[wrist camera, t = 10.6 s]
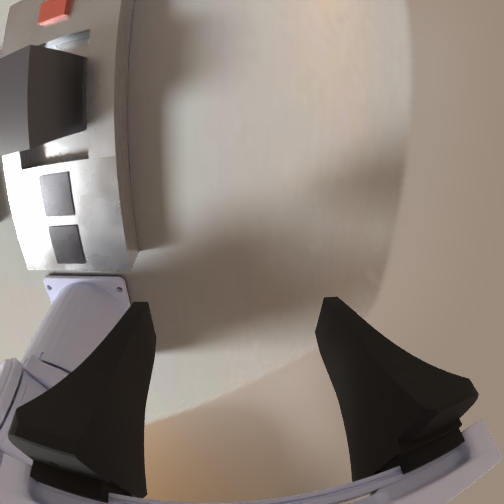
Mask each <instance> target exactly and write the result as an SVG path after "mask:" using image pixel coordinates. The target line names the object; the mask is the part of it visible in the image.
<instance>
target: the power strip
mask: <svg viewBox="0 0 504 504" xmlns="http://www.w3.org/2000/svg"><path fill="white" fill-rule="evenodd" d="M134 1H135V0H21V1H19V2H17V3H16V4H14V5H12V6H10V10H9V14H8V19H7V24H6V30H5V36H4V42H3V50H2V57H4V56H6V55H8V54H11V53H13V52H15V51H17V50H19V49H21V48H24V47H26V46H28V45H36V46H41V47H46V48H51V49H55V50H60V51H64V52H68V53H72V54H76V55H80V56H84V60H83V83H82V115H83V131H82V132H79V133H76V134H72V135H69V136H66V137H63V138H60V139H56V140H53V141H51V142H48V143H45V144H42V145H39V146H36V147H34V148H31V149H28V150H24V151H20V152H16V153H12V154H8V155H5V156H2V158H3V166H4V173H5V180H6V186H7V191H8V197H9V202H10V206H11V211H12V215H13V219H14V223H15V227H16V231H17V235H18V238H19V242H20V245H21V249H22V252H23V255H24V258H25V261H26V264H27V267H28V270H92V271H131V269H132V266H133V264H134V262H135V260H136V257H137V255H138V253H139V250H138V243H137V236H136V228H135V221H134V212H133V203H132V193H131V182H130V169H129V153H128V126H127V87H128V62H129V46H130V34H131V25H132V16H133V8H134Z"/></svg>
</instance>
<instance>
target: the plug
mask: <svg viewBox="0 0 504 504" xmlns="http://www.w3.org/2000/svg"><path fill="white" fill-rule="evenodd" d="M83 60H84V56H80V55H76V54H72V53H68V52H64V51H60V50H55V49H51V48H46V47H41V46H36V45H28V46H26V47H24V48H21V49H19V50H17V51H15V52H13V53H11V54H8V55H6V56H4V57H2V58H0V157H1V156H5V155H8V154H12V153H16V152H20V151H24V150H28V149H31V148H34V147H36V146H39V145H42V144H45V143H48V142H51V141H53V140H56V139H60V138H63V137H66V136H69V135H72V134H76V133H79V132H82V131H83V115H82V83H83Z"/></svg>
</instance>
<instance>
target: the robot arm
mask: <svg viewBox="0 0 504 504" xmlns="http://www.w3.org/2000/svg"><path fill="white" fill-rule="evenodd" d="M43 282H44V285H45V287H46V290H47V293H48V295H49V298H50V300H51V303H52V305H51V306H50V308H49V310H48V312H47V313H46V315H45V317H44V318H43V320H42V322H41V324H40V326H39V327H38V329H37V331H36V333H35V335H34V337H33V338H32V340H31V342H30V344H29V346H28V348H27V350H26V352H25V354H24V356H23V358H22V360H21V362H19V361H18V360H17V359H16V358H11V359H5V360H3V361H2V362H1V363H0V504H338V503H342V502H345V501H349V500H352V499H356V498H358V497H362V496H365V495H368V494H370V496H369V497H366V498H363V499H361V500H358V501H355V502H353V503H350V504H446V503H447V502H449V501H450V500H452V499H453V498H455V497H456V496H457V495H459V494H460V493H461V492H462V491H464V490H465V489H467V488H468V487H469V486H470V485H472V484H473V483H474V482H476V481H477V480H478V479H479V478H481V477H482V476H483V475H484V474H485V473H487V472H488V471H489V470H490V469H492V468H493V467H494V466H495V465H496V464H498V463H499V462H500V461H501V460H502V456H501V454H500V452H499V450H498V448H497V446H496V444H495V442H494V440H493V438H492V436H491V434H490V432H489V430H488V428H487V426H486V425H485V423H484V421H483V420H480V421H478V422H476V423H475V424H473V425H471V426H470V427H468V428H467V429H465V430H464V431H463V432H460V430H459V427H460V426H461V425H462V423H461V421H460V419H459V418H460V417H461V416H462V415H463V414H464V413H465V412H466V411H467V410H468V409H469V408H470V407H471V406H472V405H473V404H474V403H475V401H476V400H477V398H478V392H477V391H476V389H475V387H474V386H473V384H472V382H471V381H470V379H468V378H465V377H461V376H458V375H455V374H452V373H449V372H446V371H444V370H442V369H439V368H437V367H434V366H432V365H430V364H428V363H426V362H424V361H422V360H420V359H418V358H417V357H415V356H413V355H411V354H410V353H408V352H406V351H405V350H403V349H401V348H400V347H399V346H397V345H395V344H394V343H393V342H391V341H390V340H388V339H387V338H386V337H384V336H383V335H382V334H381V333H379V332H378V331H377V330H375V329H374V328H373V327H372V326H371V325H369V324H368V323H367V322H366V321H365V320H364V319H362V318H361V317H360V316H359V315H358V314H357V313H356V312H354V311H353V310H352V309H351V308H350V307H349V306H348V305H346V304H345V303H344V302H343V301H342V300H341V299H339V298H338V297H326V298H324V300H323V304H322V308H321V312H320V316H319V320H318V323H317V327H316V331H315V334H316V338H317V343H318V347H319V350H320V354H321V356H322V359H323V362H324V364H325V366H326V369H327V372H328V374H329V377H330V379H331V382H332V384H333V387H334V389H335V392H336V395H337V398H338V401H339V404H340V409H341V413H342V417H343V421H344V426H345V430H346V435H347V441H348V447H349V454H350V462H351V472H352V481H353V482H351V483H348V484H344V485H341V486H337V487H333V488H329V489H324V490H320V491H316V492H311V493H306V494H300V495H295V496H289V497H282V498H275V499H268V500H258V501H246V502H229V503H189V502H172V501H160V500H151V499H143V498H144V497H145V496H146V495H147V489H146V478H145V464H144V420H145V407H146V400H147V395H148V390H149V384H150V379H151V374H152V369H153V364H154V358H155V346H156V335H155V331H154V327H153V323H152V318H151V314H150V309H149V304H148V302H134V303H133V304H132V305H131V304H130V300H129V296H128V292H127V288H126V284H125V281H124V279H123V278H121V277H105V276H49V275H47V276H45V278H44V279H43ZM49 285H50V286H51V287H50V286H49ZM118 287H121V288H122V290H121V289H119V288H118Z"/></svg>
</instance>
